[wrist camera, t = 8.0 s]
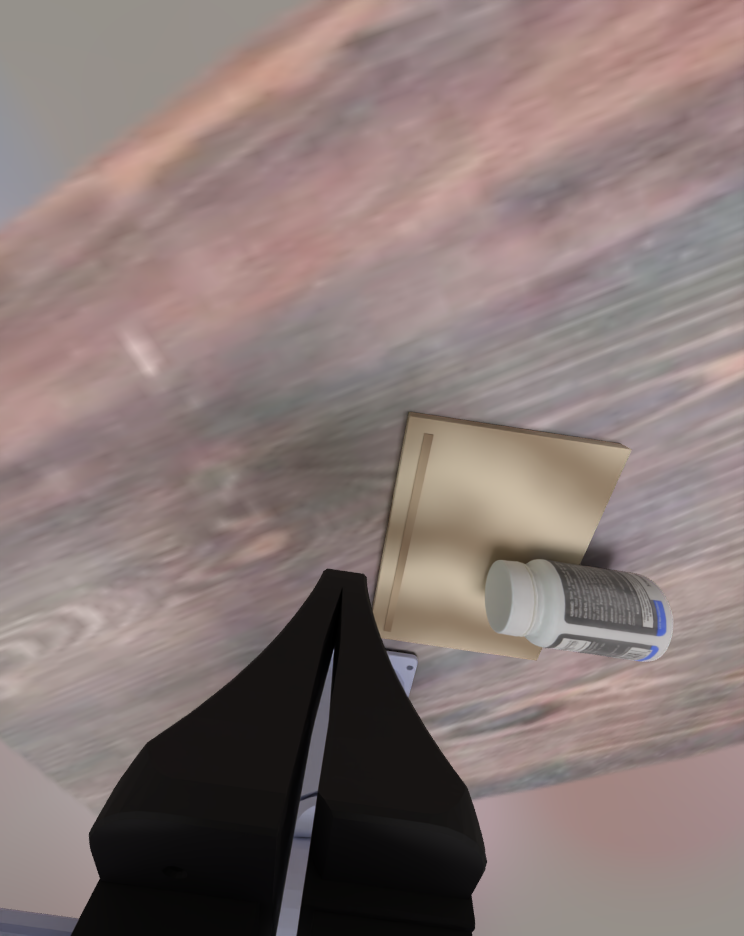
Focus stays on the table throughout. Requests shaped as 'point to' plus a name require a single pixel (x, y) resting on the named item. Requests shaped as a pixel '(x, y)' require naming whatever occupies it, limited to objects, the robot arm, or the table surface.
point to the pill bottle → (579, 608)
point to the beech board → (482, 523)
